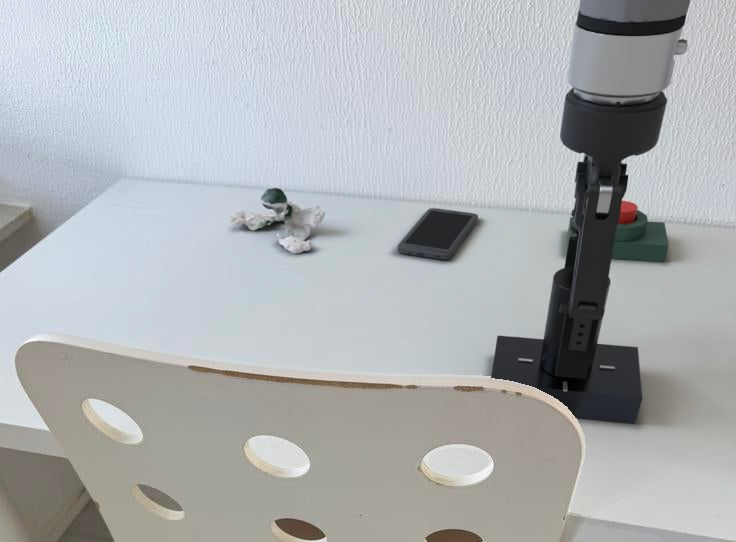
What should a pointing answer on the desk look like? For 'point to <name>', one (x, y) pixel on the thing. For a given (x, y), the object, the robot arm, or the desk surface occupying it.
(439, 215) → the cell phone
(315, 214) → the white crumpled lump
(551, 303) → the knob
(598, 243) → the robot arm
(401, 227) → the desk surface
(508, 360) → the black base block
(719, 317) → the desk surface
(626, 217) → the button
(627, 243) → the button block
